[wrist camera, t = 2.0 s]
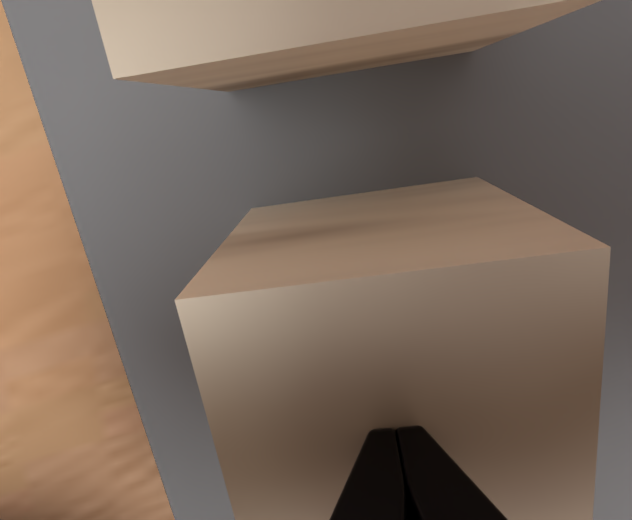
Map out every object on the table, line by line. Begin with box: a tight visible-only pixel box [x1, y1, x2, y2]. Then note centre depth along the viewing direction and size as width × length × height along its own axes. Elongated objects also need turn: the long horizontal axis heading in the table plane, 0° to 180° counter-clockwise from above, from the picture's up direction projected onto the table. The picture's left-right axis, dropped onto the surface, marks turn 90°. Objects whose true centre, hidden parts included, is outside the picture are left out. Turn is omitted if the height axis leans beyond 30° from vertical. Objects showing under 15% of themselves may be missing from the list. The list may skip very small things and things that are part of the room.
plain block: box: [175, 177, 611, 520], centre depth 10 cm, size 6×6×6 cm
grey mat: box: [1, 0, 632, 520], centre depth 13 cm, size 25×16×1 cm, turn 9°
